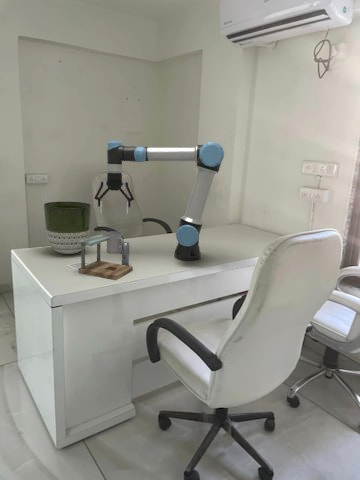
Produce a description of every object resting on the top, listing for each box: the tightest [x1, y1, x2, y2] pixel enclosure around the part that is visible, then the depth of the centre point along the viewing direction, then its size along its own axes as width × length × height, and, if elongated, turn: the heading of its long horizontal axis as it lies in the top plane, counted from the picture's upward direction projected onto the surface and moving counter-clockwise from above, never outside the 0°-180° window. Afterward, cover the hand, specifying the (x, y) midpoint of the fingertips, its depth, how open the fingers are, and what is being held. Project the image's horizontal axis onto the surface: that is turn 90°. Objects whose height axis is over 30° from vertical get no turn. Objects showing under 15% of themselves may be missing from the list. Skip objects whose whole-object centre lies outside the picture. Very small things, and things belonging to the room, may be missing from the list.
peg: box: [121, 241, 130, 266], centre depth 186 cm, size 4×4×12 cm
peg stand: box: [78, 234, 134, 281], centre depth 175 cm, size 20×16×15 cm
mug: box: [106, 231, 125, 254], centre depth 210 cm, size 12×8×11 cm
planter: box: [43, 201, 92, 255], centre depth 201 cm, size 24×24×27 cm
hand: (114, 213), depth 194 cm, fingers open, 13 cm apart
